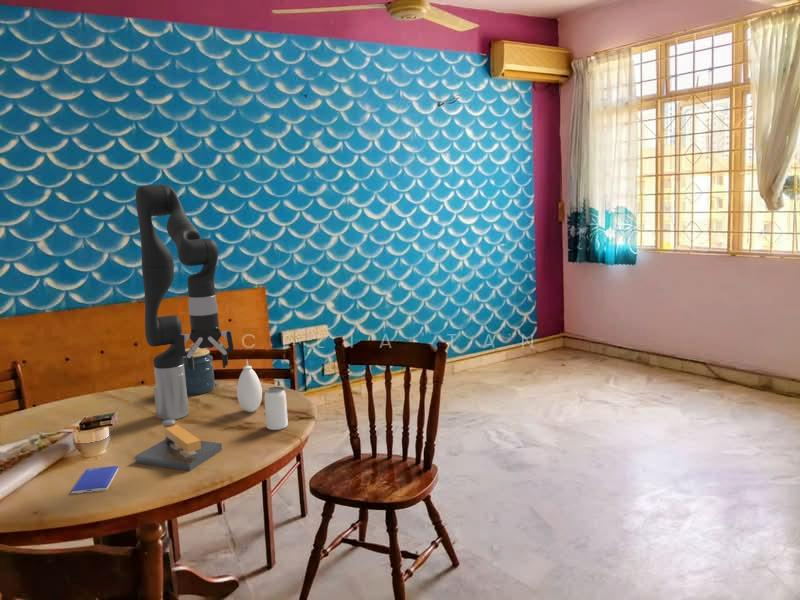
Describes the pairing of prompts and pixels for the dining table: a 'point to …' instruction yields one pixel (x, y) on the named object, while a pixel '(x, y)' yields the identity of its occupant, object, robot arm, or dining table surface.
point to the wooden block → (180, 436)
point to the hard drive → (95, 479)
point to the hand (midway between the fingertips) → (208, 368)
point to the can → (276, 408)
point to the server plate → (177, 455)
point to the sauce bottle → (249, 389)
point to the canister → (199, 372)
